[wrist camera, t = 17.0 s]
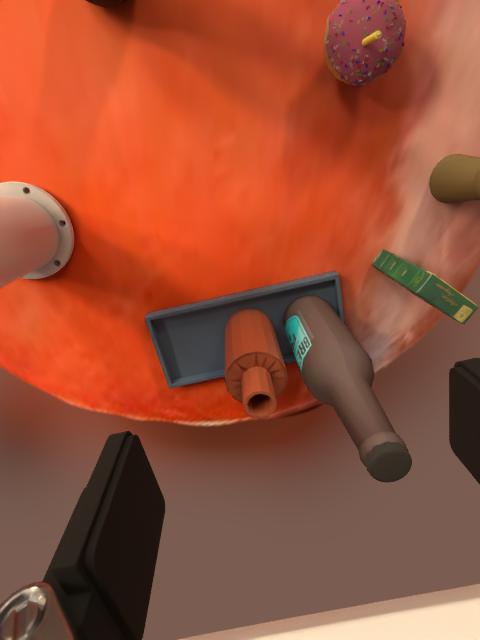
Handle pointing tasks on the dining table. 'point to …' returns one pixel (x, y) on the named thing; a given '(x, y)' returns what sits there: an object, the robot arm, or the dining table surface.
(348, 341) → the beer bottle
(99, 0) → the cola bottle
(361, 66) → the cupcake
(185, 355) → the tray
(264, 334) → the terracotta bottle
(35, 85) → the dining table surface
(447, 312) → the coffee box
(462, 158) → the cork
